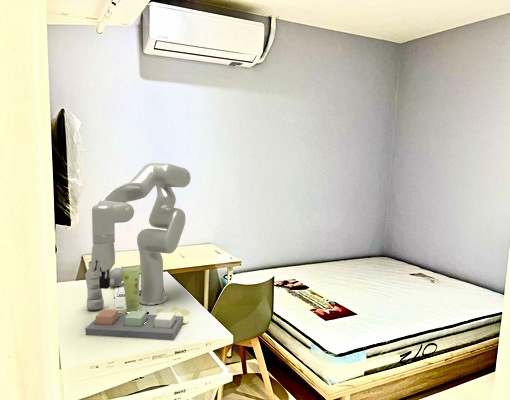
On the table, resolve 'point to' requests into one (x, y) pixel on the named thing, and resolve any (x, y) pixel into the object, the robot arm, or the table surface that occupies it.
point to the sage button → (136, 318)
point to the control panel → (135, 329)
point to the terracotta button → (107, 317)
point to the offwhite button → (164, 320)
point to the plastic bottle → (93, 290)
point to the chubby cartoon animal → (116, 277)
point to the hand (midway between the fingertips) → (104, 287)
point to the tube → (131, 286)
